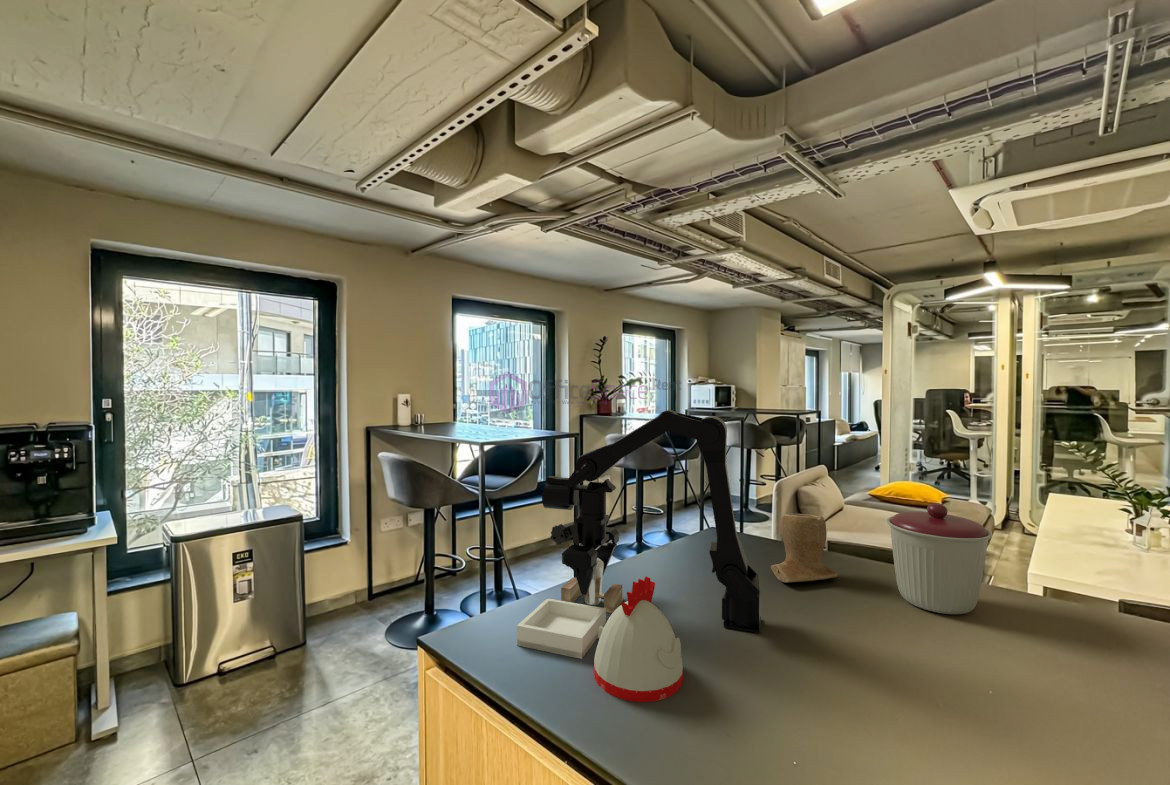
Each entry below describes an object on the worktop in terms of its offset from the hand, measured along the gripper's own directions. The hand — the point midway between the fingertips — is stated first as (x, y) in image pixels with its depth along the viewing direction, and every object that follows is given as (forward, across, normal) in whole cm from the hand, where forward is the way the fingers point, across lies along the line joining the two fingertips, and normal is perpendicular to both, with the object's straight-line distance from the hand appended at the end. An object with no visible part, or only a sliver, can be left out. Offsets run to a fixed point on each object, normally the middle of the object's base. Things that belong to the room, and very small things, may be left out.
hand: (592, 586), depth 107 cm
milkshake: (+4, 0, 0) cm, 4 cm away
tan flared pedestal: (+4, -32, +41) cm, 52 cm away
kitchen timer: (+4, +22, +16) cm, 27 cm away
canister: (+4, -26, +67) cm, 72 cm away
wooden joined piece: (+4, 0, 0) cm, 4 cm away
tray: (+4, +15, 0) cm, 15 cm away
